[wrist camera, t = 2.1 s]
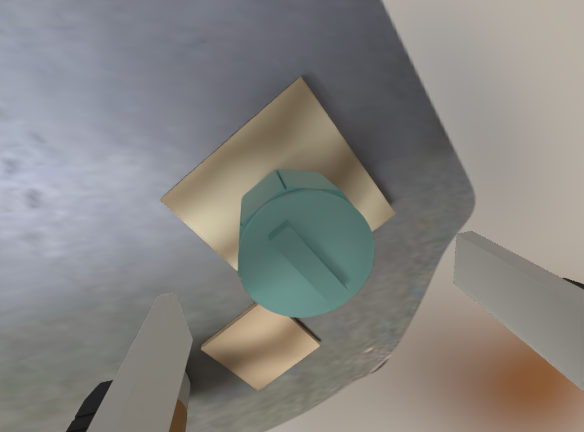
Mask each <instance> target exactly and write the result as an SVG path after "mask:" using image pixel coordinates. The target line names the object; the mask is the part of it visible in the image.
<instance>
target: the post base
mask: <svg viewBox="0 0 584 432" xmlns="http://www.w3.org/2000/svg"><path fill="white" fill-rule="evenodd" d="M274 169H275V170H276V171H277V169H289V170H301V171H313V172H319V173H321V174H322V175H323V176H324V177H326V178H327V179H328V180H329V181H330V182H332V183H333V184H334V185H335V186H336V187H338V188H339V189H340V190H341V191H342V192H343V193H344V194H345V195H346V197H347V198H348V199H349V201H350V202H351V203H352V205H353V206H354V207H355V208H356V209H357V210H358V211H359V212H360V213H361V214H362V215H363V216H364V218H365V219H366V221H367V222H368V224H369V226H370V228H371V231H372V232H373V231H374V230H376V229H377V228H378V227H379V226H381V225H382V224H383V223H385V222H386V221H387V220H389V219H390V218H391V217H392V216H394V215H395V214H396V213H395V212H394V211H393V209H392V208H391V206H390V205H389V203H388V202H387V200H386V199H385V197H384V196H383V195H382V193H381V192H380V190H379V189H378V187H377V186H376V184H375V183H374V182H373V180H372V179H371V177H370V176H369V174H368V173H367V171H366V170H365V168H364V167H363V166H362V164H361V163H360V161H359V160H358V158H357V157H356V155H355V154H354V153H353V151H352V150H351V148H350V147H349V145H348V144H347V142H346V141H345V139H344V138H343V137H342V135H341V134H340V132H339V131H338V129H337V128H336V126H335V125H334V124H333V122H332V121H331V119H330V118H329V116H328V115H327V113H326V112H325V110H324V109H323V108H322V106H321V105H320V103H319V102H318V100H317V99H316V97H315V96H314V95H313V93H312V92H311V90H310V89H309V87H308V86H307V84H306V83H305V81H304V80H303V79H302V77H299V78H298V79H296V80H295V81H294V82H293V83H292V84H291V85H289V86H288V87H287V88H286V89H285V90H284V91H283V92H281V93H280V94H279V95H278V96H277V97H276V98H275V99H273V100H272V101H271V102H270V103H269V104H268V105H267V106H266V107H264V108H263V109H262V110H261V111H260V112H259V113H258V114H256V115H255V116H254V117H253V118H252V119H251V120H250V121H248V122H247V123H246V124H245V125H244V126H243V127H242V128H240V129H239V130H238V131H237V132H236V133H235V134H234V135H232V136H231V137H230V138H229V139H228V140H227V141H226V142H224V143H223V144H222V145H221V146H220V147H219V148H218V149H217V150H215V151H214V152H213V153H212V154H211V155H210V156H209V157H207V158H206V159H205V160H204V161H203V162H202V163H201V164H199V165H198V166H197V167H196V168H195V169H194V170H193V171H191V172H190V173H189V174H188V175H187V176H186V177H185V178H183V179H182V180H181V181H180V182H179V183H178V184H177V185H176V186H174V187H173V188H172V189H171V190H170V191H169V192H168V193H166V194H165V195H164V196H163V197H162V198H161V199H160V201H161V202H163V203H164V204H165V205H166V206H167V207H168V208H169V209H170V210H171V211H172V212H174V213H175V214H176V215H177V216H178V217H179V218H180V219H181V220H182V221H183V222H184V223H186V224H187V225H188V226H189V227H190V228H191V229H192V230H193V231H194V232H195V233H196V234H198V235H199V236H200V237H201V238H202V239H203V240H204V241H205V242H206V243H207V244H208V245H210V246H211V247H212V248H213V249H214V250H215V251H216V252H217V253H218V254H219V255H220V256H222V257H223V258H224V259H225V260H226V261H227V262H228V263H229V264H230V265H231V266H233V267H234V268H235V269H236V270H238V250H239V230H240V215H241V201H242V198H243V196H244V195H245V194H246V193H247V192H248V191H250V190H251V189H252V188H253V187H254V186H255V185H257V184H258V183H259V182H260V181H261V180H263V179H264V178H265V177H266V176H267V175H269V174H270V173H271V172H272V171H273V170H274Z"/></svg>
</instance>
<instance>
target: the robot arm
mask: <svg viewBox="0 0 584 432" xmlns="http://www.w3.org/2000/svg"><path fill="white" fill-rule="evenodd" d="M453 283H454V284H455V285H457V286H458V287H459V288H460V289H461V290H463V291H464V292H465V293H466V294H467V295H468V296H470V297H471V298H472V299H473V300H474V301H476V302H477V303H478V304H479V305H480V306H482V307H483V308H484V309H485V310H487V311H488V312H489V313H490V314H491V315H493V316H494V317H495V318H496V319H497V320H499V321H500V322H501V323H502V324H503V325H505V326H506V327H507V328H508V329H509V330H511V331H512V332H513V333H514V334H515V335H517V336H518V337H519V338H520V339H521V340H523V341H524V342H525V343H526V344H528V345H529V346H530V347H531V348H532V349H533V350H535V351H536V352H537V353H538V354H539V355H541V356H542V357H543V358H544V359H545V360H547V361H548V362H549V363H550V364H551V365H553V366H554V367H555V368H556V369H557V370H559V371H560V372H561V373H562V374H563V375H565V376H566V377H567V378H568V379H570V380H571V381H572V382H573V383H574V384H576V385H577V386H578V387H579V388H580V389H582V390H583V391H584V284H581V283H579V282H575V281H572V280H569V279H566V278H561V277H559V276H557V275H555V274H553V273H551V272H549V271H547V270H545V269H543V268H541V267H540V266H538V265H536V264H534V263H532V262H530V261H528V260H526V259H524V258H522V257H520V256H519V255H517V254H515V253H513V252H511V251H509V250H507V249H505V248H503V247H501V246H499V245H498V244H496V243H493V242H492V241H490V240H488V239H486V238H484V237H482V236H481V235H478V234H477V233H475V232H473V231H469V232H464V233H459V234H457V236H456V251H455V266H454V281H453ZM192 341H193V339H192V336H191V334H190V331H189V328H188V325H187V323H186V320H185V317H184V314H183V311H182V309H181V306H180V303H179V300H178V298H177V295H176V292H172V293H167V294H162V295H158V296H157V298H156V300H155V301H154V303H153V305H152V307H151V309H150V311H149V313H148V315H147V317H146V319H145V320H144V322H143V324H142V326H141V328H140V330H139V332H138V334H137V336H136V338H135V340H134V341H133V343H132V345H131V347H130V349H129V351H128V353H127V355H126V357H125V359H124V361H123V362H122V364H121V366H120V368H119V370H118V372H117V374H116V376H115V378H114V380H111V381H106V382H102V383H100V384H99V385H98V386H97V387H96V388H95V389H94V390H93V391H92V392H91V394H90V395H89V396H88V397H87V398H86V399H85V400H84V402H83V404H82V406H81V407H80V409H79V411H78V412H77V414H76V416H75V420H73V421H72V423H71V424H70V426H69V428H68V429H67V431H66V432H169V429H170V425H171V421H172V417H173V414H174V410H175V406H176V402H177V398H178V395H179V391H180V387H181V383H182V379H183V376H184V372H185V368H186V364H187V360H188V357H189V353H190V349H191V345H192Z"/></svg>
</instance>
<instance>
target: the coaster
mask: <svg viewBox="0 0 584 432" xmlns="http://www.w3.org/2000/svg"><path fill="white" fill-rule="evenodd" d="M319 346H320V343H319V341H318V340H317V339H316V338H315V337H314V336H313V335H311V334H310V333H309V332H308V331H307V330H306V329H305V328H304V327H303V326H302V325H301V324H300V323H298V322H297V321H296V320H295V319H294V318H293V317H288V316H283V315H279V314H276V313H273V312H271V311H269V310H267V309H265V308H264V307H262V306H261V305H259V304H258V303H257V302H256V303H254V304H253V305H252V306H251V307H249V308H248V309H247V310H245V311H244V312H243V313H242V314H240V315H239V316H238V317H237V318H235V319H234V320H233V321H231V322H230V323H229V324H228V325H226V326H225V327H224V328H222V329H221V330H220V331H219V332H217V333H216V334H215V335H213V336H212V337H211V338H210V339H208V340H207V341H206V342H205V343H203V344H202V346H201V350H202V351H204V352H205V353H207V354H208V355H209V356H211V357H212V358H214V359H215V360H216V361H218V362H219V363H221V364H222V365H223V366H225V367H226V368H228V369H229V370H230V371H232V372H233V373H234V374H236V375H237V376H239V377H240V378H241V379H243V380H244V381H246V382H247V383H248V384H250V385H251V386H253V387H254V388H255V389H257V390H258V391H259V390H261V389H262V388H263V387H265V386H266V385H267V384H269V383H270V382H271V381H273V380H274V379H276V378H277V377H278V376H280V375H281V374H282V373H284V372H285V371H286V370H288V369H289V368H291V367H292V366H293V365H295V364H296V363H297V362H299V361H300V360H301V359H303V358H304V357H306V356H307V355H308V354H310V353H311V352H312V351H314V350H315V349H316V348H318V347H319Z"/></svg>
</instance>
